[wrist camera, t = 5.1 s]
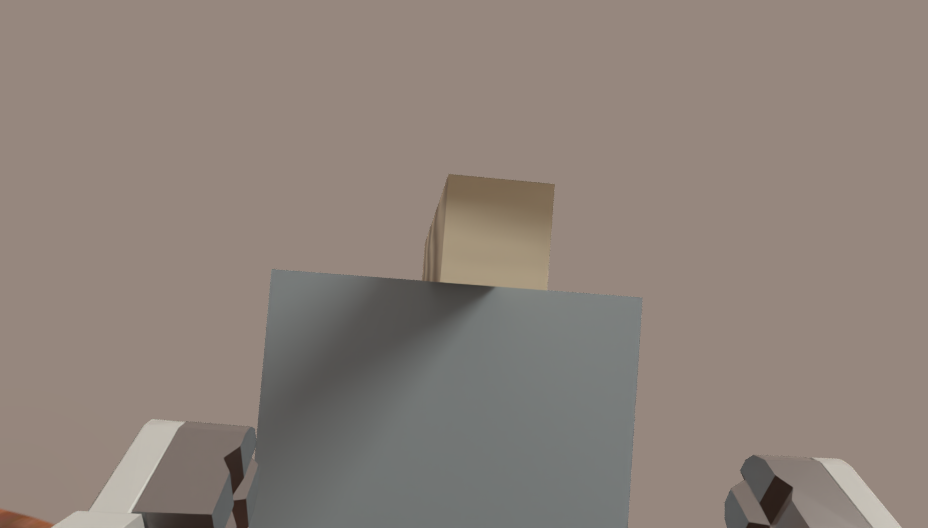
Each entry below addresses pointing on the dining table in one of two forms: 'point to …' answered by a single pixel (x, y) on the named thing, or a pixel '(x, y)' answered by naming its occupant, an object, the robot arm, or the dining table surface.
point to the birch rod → (491, 233)
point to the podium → (444, 405)
